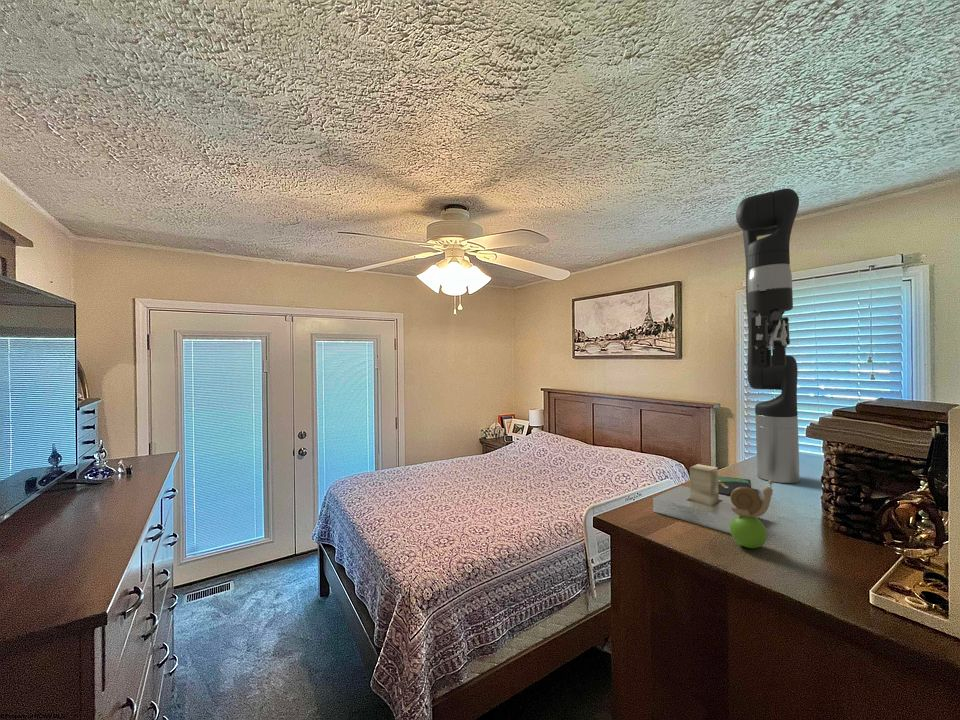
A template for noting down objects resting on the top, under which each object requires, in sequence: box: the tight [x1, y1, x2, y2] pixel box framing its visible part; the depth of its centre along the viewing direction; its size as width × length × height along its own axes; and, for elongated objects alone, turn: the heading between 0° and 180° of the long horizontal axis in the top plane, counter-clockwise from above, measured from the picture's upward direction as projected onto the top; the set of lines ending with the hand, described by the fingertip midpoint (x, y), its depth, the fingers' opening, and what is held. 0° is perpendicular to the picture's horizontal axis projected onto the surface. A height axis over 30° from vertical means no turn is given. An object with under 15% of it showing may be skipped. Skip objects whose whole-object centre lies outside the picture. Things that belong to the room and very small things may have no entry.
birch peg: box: [689, 463, 719, 507], centre depth 85 cm, size 4×4×10 cm
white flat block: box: [652, 485, 760, 535], centre depth 85 cm, size 13×16×3 cm
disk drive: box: [718, 476, 752, 496], centre depth 98 cm, size 10×3×15 cm
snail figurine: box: [730, 480, 774, 549], centre depth 70 cm, size 5×6×12 cm
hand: (772, 366), depth 84 cm, fingers open, 8 cm apart
